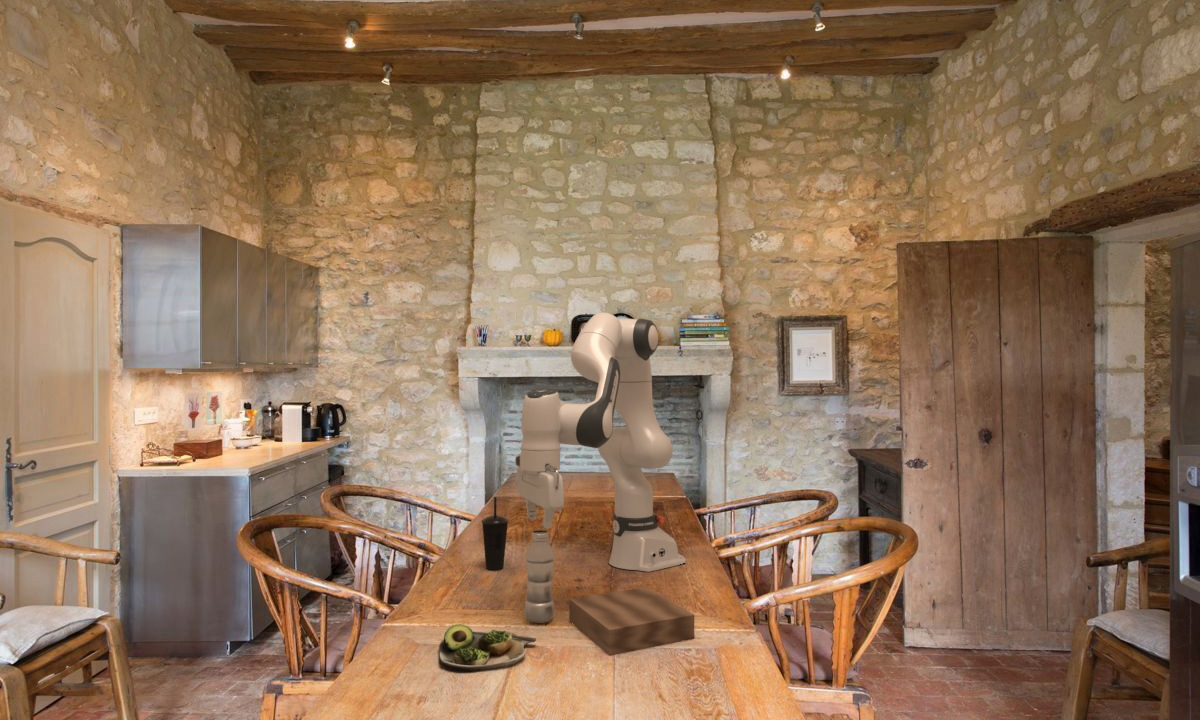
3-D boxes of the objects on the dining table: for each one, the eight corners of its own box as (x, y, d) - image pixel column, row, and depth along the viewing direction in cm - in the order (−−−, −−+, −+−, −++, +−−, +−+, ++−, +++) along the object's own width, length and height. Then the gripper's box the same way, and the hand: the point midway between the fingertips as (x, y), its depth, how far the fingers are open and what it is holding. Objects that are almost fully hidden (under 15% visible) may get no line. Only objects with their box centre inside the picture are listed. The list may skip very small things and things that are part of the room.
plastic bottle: (524, 616, 158) (525, 528, 158) (554, 615, 158) (554, 528, 159) (523, 627, 151) (524, 535, 152) (554, 626, 152) (555, 535, 152)
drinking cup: (513, 566, 197) (513, 495, 197) (500, 573, 190) (501, 500, 190) (489, 563, 200) (489, 494, 200) (475, 570, 192) (476, 498, 193)
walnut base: (646, 608, 164) (647, 587, 164) (694, 638, 146) (694, 614, 146) (569, 621, 155) (569, 599, 155) (609, 655, 137) (609, 630, 137)
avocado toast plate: (531, 632, 149) (531, 611, 149) (543, 668, 132) (543, 644, 132) (439, 640, 145) (439, 618, 145) (438, 678, 127) (438, 652, 127)
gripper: (571, 467, 147) (570, 532, 147) (537, 455, 166) (536, 513, 165) (544, 468, 144) (543, 534, 144) (512, 456, 163) (511, 515, 163)
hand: (539, 523), depth 155 cm, fingers open, 8 cm apart
